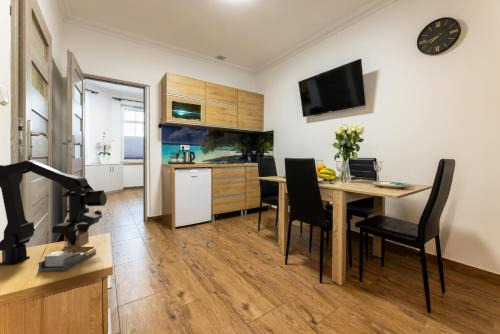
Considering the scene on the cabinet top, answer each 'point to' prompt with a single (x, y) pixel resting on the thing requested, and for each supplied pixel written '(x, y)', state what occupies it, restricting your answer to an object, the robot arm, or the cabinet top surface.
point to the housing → (80, 239)
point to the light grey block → (57, 258)
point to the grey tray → (70, 259)
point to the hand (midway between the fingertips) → (78, 242)
